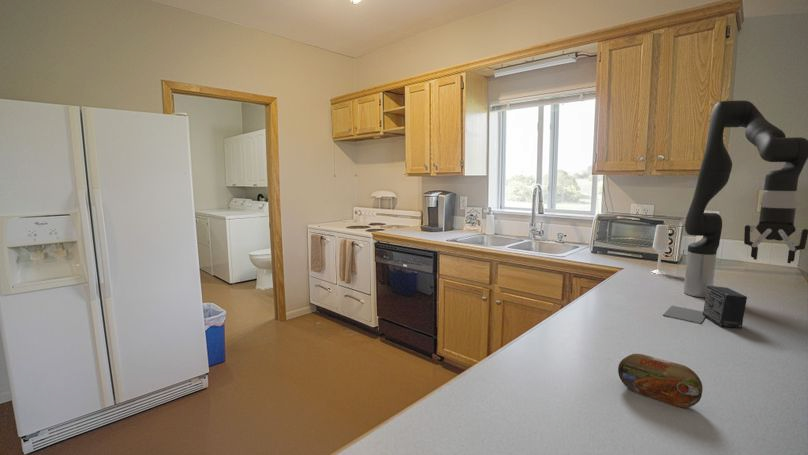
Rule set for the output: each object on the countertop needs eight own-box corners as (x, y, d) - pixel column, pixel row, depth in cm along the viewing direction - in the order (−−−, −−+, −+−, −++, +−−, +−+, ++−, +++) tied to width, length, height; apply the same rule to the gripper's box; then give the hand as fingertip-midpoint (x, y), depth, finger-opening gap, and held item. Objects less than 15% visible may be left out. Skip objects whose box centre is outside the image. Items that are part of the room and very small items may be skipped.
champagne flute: (647, 271, 194) (651, 224, 191) (659, 271, 195) (663, 224, 192) (657, 275, 187) (661, 226, 184) (669, 274, 188) (674, 226, 185)
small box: (743, 328, 120) (749, 296, 119) (720, 326, 122) (725, 294, 120) (723, 316, 130) (728, 286, 129) (701, 314, 132) (706, 285, 130)
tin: (616, 386, 87) (619, 351, 86) (620, 381, 89) (623, 346, 88) (699, 414, 76) (703, 374, 75) (701, 408, 79) (705, 369, 78)
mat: (671, 306, 141) (672, 305, 141) (707, 313, 134) (707, 312, 134) (662, 315, 132) (662, 314, 132) (701, 323, 124) (701, 322, 124)
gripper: (812, 206, 112) (805, 262, 114) (747, 204, 122) (741, 256, 124) (813, 208, 107) (805, 266, 109) (744, 205, 117) (738, 259, 119)
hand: (771, 260), depth 116 cm, fingers open, 7 cm apart
